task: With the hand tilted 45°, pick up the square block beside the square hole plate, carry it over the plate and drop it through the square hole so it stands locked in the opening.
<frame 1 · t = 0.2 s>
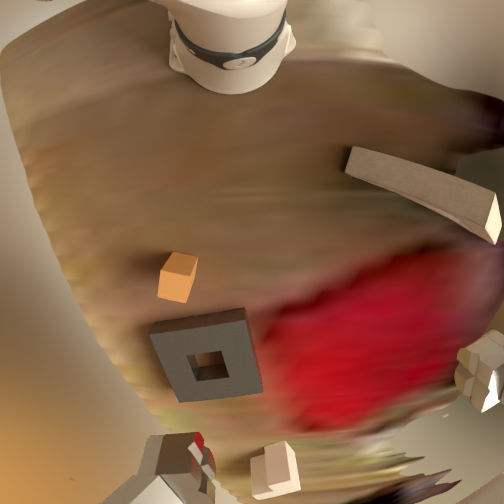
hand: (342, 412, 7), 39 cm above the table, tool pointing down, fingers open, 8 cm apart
square block: (183, 266, 47), on the table
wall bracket: (434, 199, 45), on the table
square hole plate: (210, 353, 52), on the table
corner bracket: (273, 455, 63), on the table
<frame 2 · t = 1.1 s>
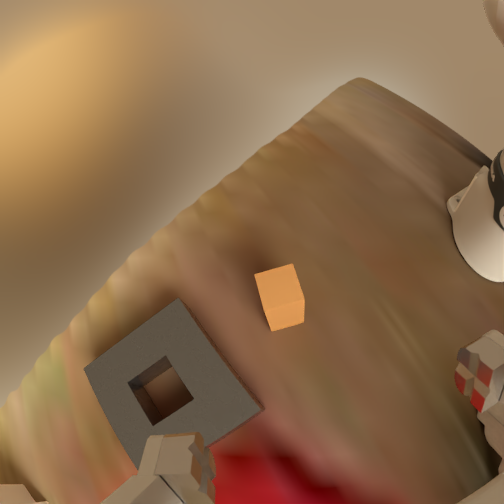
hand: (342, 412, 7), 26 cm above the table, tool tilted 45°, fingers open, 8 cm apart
square block: (283, 311, 36), on the table
square hole plate: (172, 393, 33), on the table
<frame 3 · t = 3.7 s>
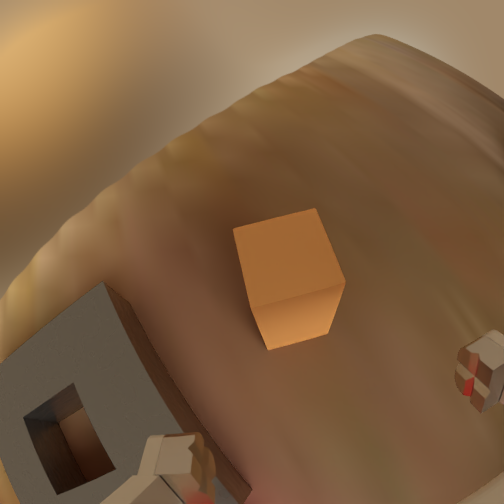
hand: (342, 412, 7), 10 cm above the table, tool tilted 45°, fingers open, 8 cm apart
square block: (290, 314, 20), on the table
square hole plate: (97, 442, 16), on the table
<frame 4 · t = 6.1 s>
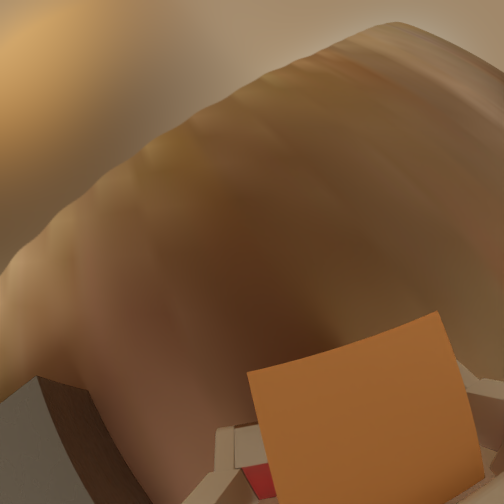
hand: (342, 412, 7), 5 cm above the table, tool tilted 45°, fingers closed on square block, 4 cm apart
square block: (329, 426, 11), on the table, touching gripper
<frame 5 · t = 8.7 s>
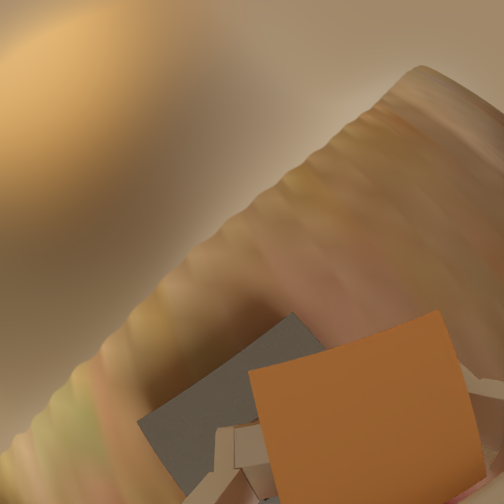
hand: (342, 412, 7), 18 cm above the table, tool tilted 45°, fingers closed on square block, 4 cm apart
square block: (330, 426, 11), point 14 cm above the table, touching gripper
square hole plate: (277, 446, 22), on the table
when the fingers open (10 cm above the table, at t = 11.4 s): square block drops 5 cm, resting in square hole plate.
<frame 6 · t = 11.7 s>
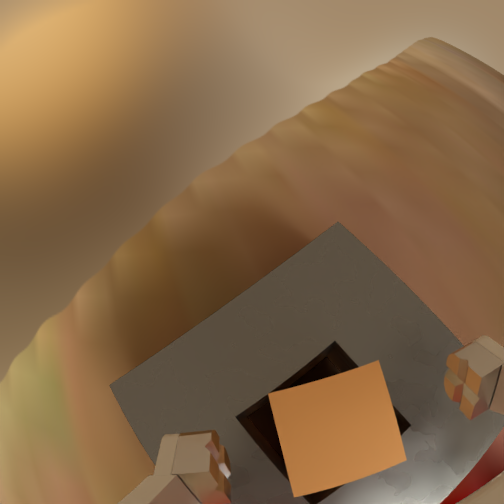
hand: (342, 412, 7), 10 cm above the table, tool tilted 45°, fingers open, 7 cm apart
square block: (319, 423, 15), resting in square hole plate
square hole plate: (319, 423, 15), on the table
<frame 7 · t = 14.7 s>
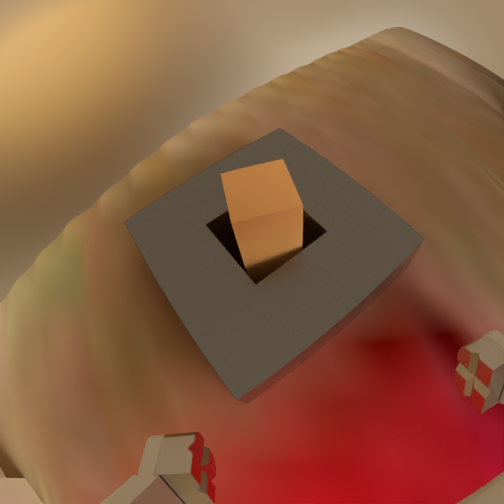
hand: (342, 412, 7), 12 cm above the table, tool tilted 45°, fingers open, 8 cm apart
square block: (270, 256, 24), resting in square hole plate
square hole plate: (269, 256, 24), on the table
corner bracket: (9, 500, 13), on the table
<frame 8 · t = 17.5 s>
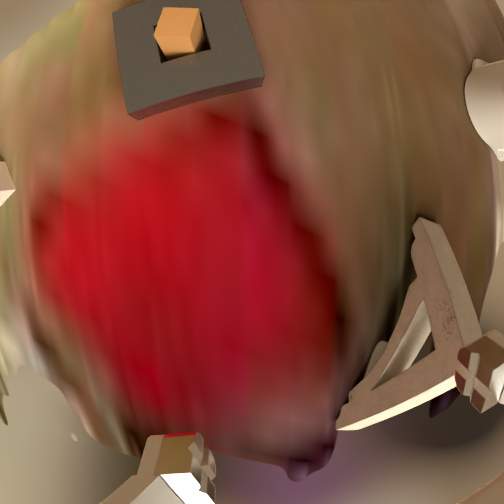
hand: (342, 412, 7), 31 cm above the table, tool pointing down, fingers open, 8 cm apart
square block: (186, 49, 32), resting in square hole plate
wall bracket: (385, 335, 43), on the table
square hole plate: (185, 49, 32), on the table
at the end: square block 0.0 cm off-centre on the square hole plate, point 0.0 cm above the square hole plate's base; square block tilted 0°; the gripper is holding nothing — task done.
